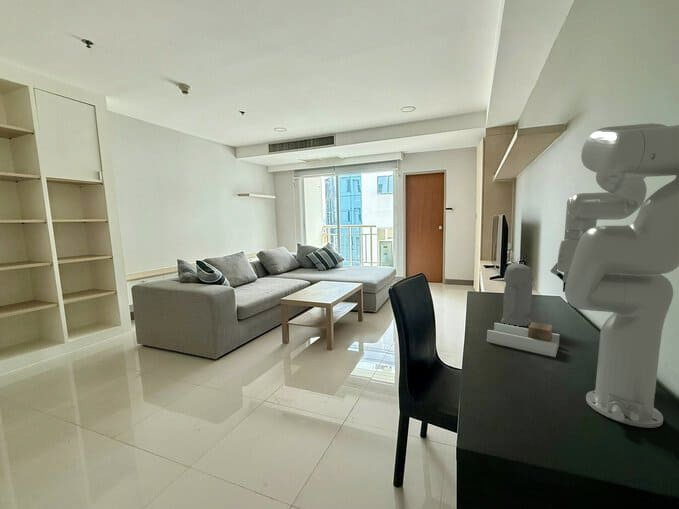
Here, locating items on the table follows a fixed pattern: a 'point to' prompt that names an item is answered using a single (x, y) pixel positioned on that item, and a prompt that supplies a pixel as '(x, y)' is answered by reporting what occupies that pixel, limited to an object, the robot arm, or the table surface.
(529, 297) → the unidentifiable
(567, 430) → the table surface
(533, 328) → the walnut block
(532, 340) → the chute
